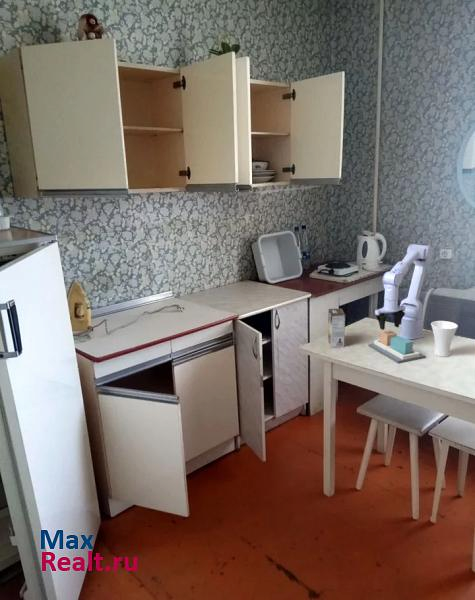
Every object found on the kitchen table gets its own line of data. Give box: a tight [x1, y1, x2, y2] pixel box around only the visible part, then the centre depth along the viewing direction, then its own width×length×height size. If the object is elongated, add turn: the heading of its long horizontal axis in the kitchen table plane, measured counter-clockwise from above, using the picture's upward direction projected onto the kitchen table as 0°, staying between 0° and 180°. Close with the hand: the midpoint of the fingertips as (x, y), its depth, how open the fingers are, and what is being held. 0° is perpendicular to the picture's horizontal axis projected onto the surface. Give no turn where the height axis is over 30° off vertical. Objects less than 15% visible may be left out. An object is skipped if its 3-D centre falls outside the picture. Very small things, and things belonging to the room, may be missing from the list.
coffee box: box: [327, 308, 346, 348], centre depth 215 cm, size 9×6×16 cm
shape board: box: [368, 339, 427, 364], centre depth 205 cm, size 14×21×2 cm, turn 19°
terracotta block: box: [379, 329, 398, 346], centre depth 210 cm, size 5×5×6 cm
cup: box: [430, 320, 459, 358], centre depth 199 cm, size 10×10×14 cm
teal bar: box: [390, 335, 414, 355], centre depth 201 cm, size 4×8×6 cm, turn 30°
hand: (389, 327), depth 208 cm, fingers open, 7 cm apart
